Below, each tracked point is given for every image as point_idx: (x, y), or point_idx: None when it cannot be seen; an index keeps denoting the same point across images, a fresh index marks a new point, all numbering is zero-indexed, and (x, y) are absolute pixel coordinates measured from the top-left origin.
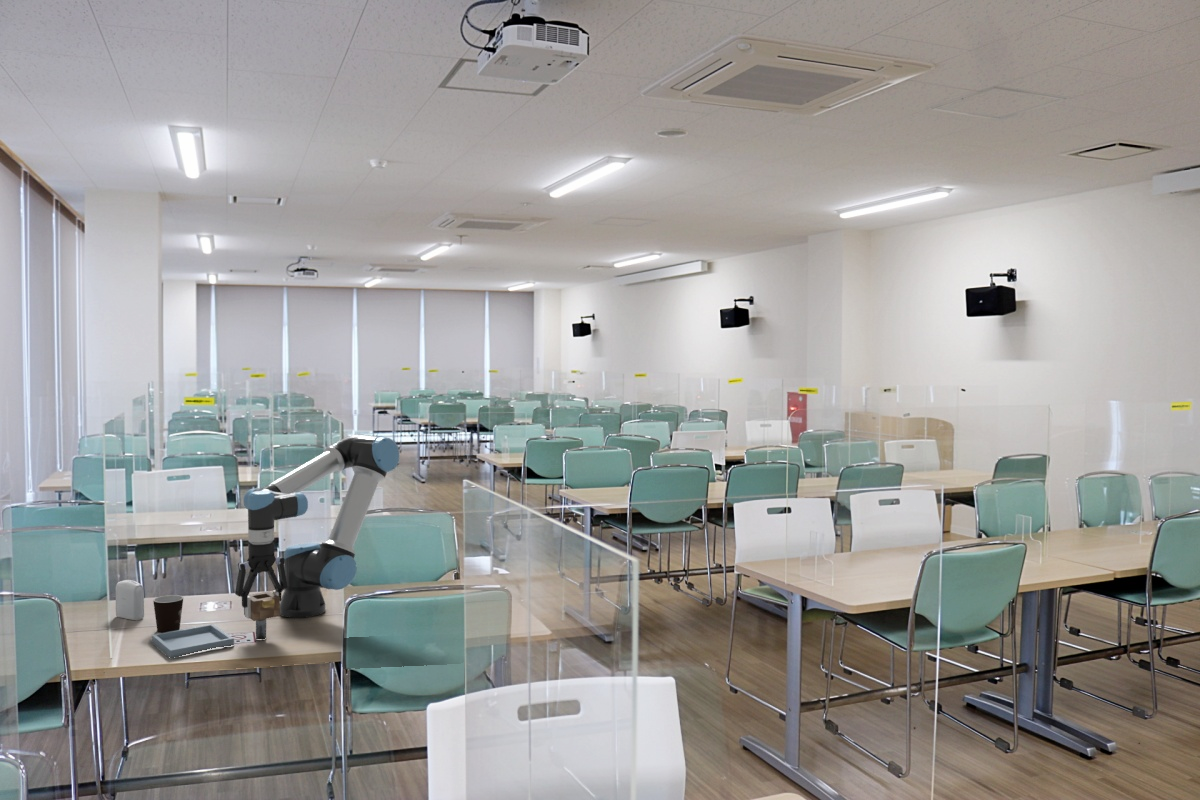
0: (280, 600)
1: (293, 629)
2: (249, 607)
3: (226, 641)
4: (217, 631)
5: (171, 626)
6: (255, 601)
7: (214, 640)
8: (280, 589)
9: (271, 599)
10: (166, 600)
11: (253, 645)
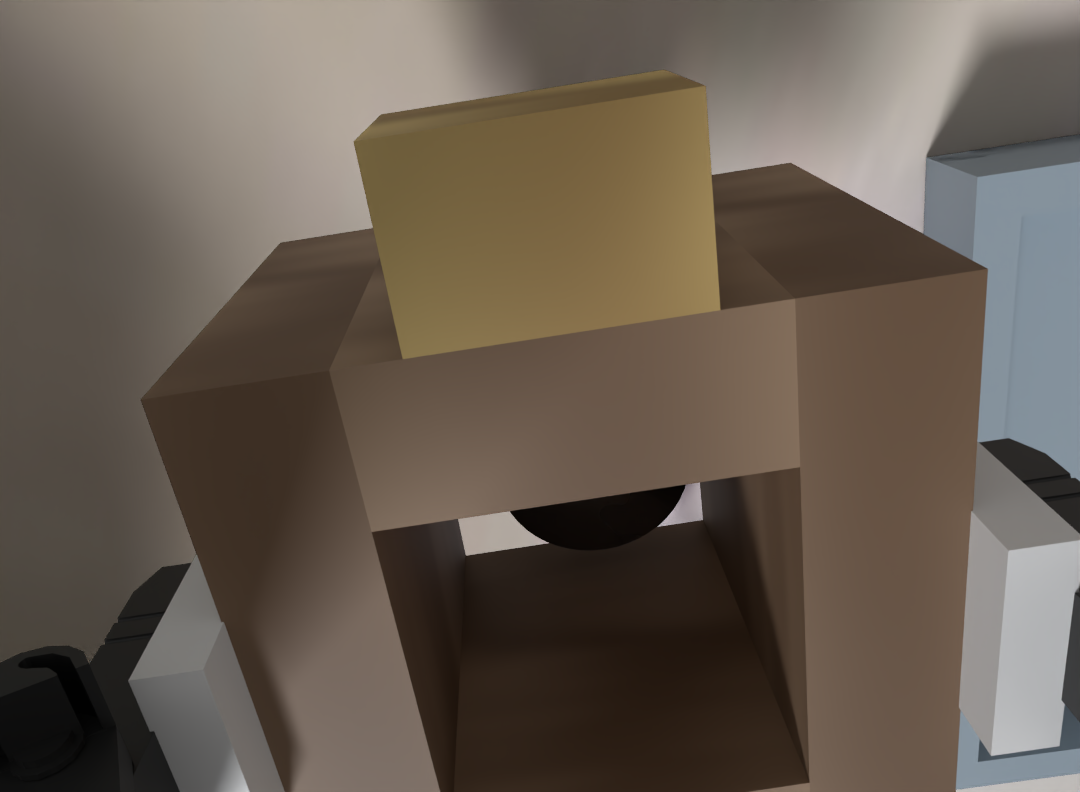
0: (163, 577)
1: (141, 479)
2: None
3: (1067, 159)
4: None
5: None
6: (933, 270)
7: (1062, 404)
8: (31, 752)
9: (436, 236)
10: None
11: (708, 87)
